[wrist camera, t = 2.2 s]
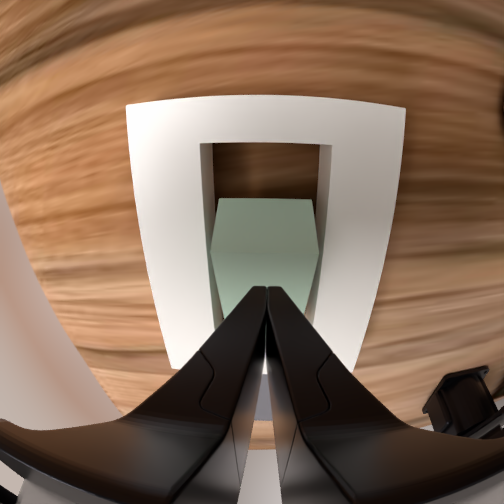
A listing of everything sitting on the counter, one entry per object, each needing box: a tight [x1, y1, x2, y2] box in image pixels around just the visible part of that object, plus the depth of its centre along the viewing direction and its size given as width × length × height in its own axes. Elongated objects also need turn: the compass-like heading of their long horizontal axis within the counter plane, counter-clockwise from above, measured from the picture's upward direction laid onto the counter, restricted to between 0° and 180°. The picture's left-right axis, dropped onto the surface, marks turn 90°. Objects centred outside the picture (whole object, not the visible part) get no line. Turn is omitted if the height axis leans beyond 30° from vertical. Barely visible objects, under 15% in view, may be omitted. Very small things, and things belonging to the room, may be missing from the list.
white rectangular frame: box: [126, 95, 406, 374], centre depth 16 cm, size 12×16×3 cm
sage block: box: [210, 198, 319, 319], centre depth 15 cm, size 4×8×3 cm, turn 0°
